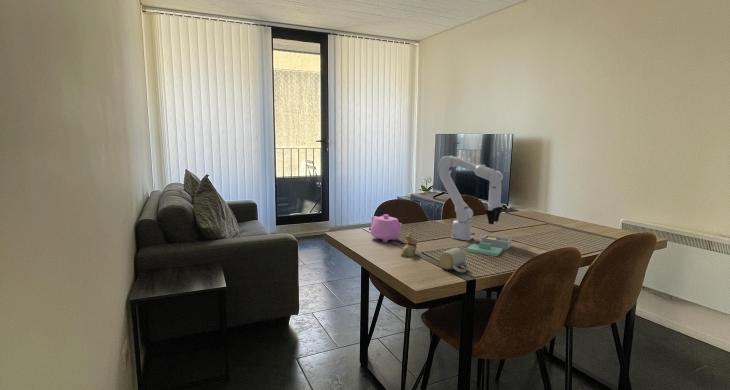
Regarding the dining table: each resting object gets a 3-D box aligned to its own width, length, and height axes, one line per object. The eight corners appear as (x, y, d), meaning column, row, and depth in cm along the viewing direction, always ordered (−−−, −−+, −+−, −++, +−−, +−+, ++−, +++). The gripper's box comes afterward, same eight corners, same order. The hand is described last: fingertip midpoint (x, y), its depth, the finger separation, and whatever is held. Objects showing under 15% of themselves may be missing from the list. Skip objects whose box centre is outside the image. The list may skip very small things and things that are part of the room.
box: (481, 246, 189) (481, 237, 189) (486, 242, 196) (486, 234, 195) (507, 250, 183) (507, 242, 182) (511, 246, 189) (511, 238, 189)
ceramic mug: (437, 267, 157) (438, 248, 155) (450, 263, 162) (451, 245, 160) (459, 275, 148) (460, 255, 147) (471, 270, 154) (473, 252, 152)
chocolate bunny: (419, 256, 171) (420, 233, 169) (402, 256, 169) (402, 234, 168) (415, 252, 176) (416, 230, 175) (398, 253, 175) (399, 231, 173)
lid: (466, 251, 180) (467, 243, 180) (473, 246, 188) (473, 238, 188) (497, 256, 173) (497, 248, 172) (502, 251, 181) (503, 243, 180)
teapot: (363, 237, 200) (363, 213, 199) (380, 233, 209) (381, 210, 207) (391, 246, 186) (392, 219, 184) (408, 241, 194) (409, 216, 192)
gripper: (499, 198, 184) (497, 226, 186) (506, 194, 196) (505, 221, 198) (484, 196, 188) (482, 224, 190) (492, 193, 200) (491, 219, 202)
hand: (493, 222), depth 194 cm, fingers open, 7 cm apart
